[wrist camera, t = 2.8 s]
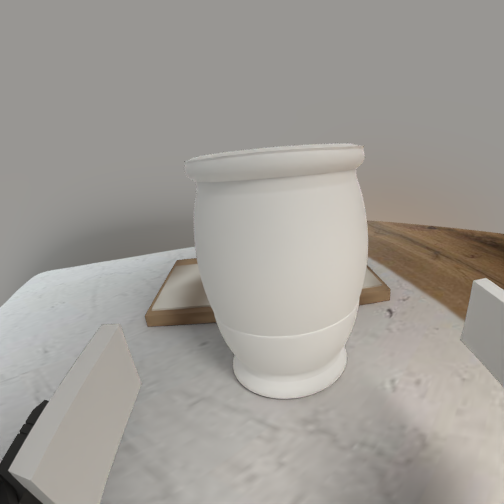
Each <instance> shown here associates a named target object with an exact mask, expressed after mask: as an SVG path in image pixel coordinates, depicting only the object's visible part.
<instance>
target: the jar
mask: <svg viewBox="0 0 504 504" xmlns="http://www.w3.org/2000/svg"><path fill="white" fill-rule="evenodd" d="M363 147H364V146H359V145H356V144H348V143H341V144H340V143H339V144H312V145H295V146H281V147H269V148H258V149H249V150H240V151H232V152H224V153H217V154H210V155H203V156H198V157H194V158H192V159H190V160H188V161H185V166H184V171H185V174H186V176H187V177H188V178H189V179H191V180H193V181H195V183H196V188H197V193H196V199H195V206H194V239H195V250H196V257H197V263H198V268H199V272H200V276H201V280H202V283H203V287H204V290H205V293H206V295H207V298H208V300H209V303H210V305H211V308H212V310H213V312H214V316H215V319H216V322H217V325H218V327H219V330H220V332H221V334H222V336H223V338H224V340H225V342H226V344H227V345H228V347H229V348H230V349H231V351H232V352H233V353H234V354H235V355H234V359H233V370H234V373H235V376H236V378H237V379H238V381H239V382H240V383H241V384H242V385H243V386H244V387H246V388H247V389H249V390H250V391H252V392H254V393H256V394H259V395H262V396H265V397H270V398H277V399H293V398H300V397H305V396H309V395H312V394H315V393H317V392H319V391H322V390H324V389H325V388H327V387H328V386H330V385H331V384H333V383H334V382H335V381H336V380H337V379H338V378H339V377H340V376H341V374H342V373H343V371H344V369H345V366H346V363H347V352H346V349H345V346H344V345H345V343H346V341H347V340H348V338H349V336H350V334H351V331H352V329H353V326H354V323H355V320H356V316H357V312H358V307H359V298H360V294H361V291H362V287H363V283H364V279H365V273H366V267H367V257H368V229H367V218H366V211H365V205H364V200H363V195H362V192H361V188H360V185H359V182H358V180H357V176H356V168H357V167H358V166H359V165H361V163H362V162H363V161H364V158H365V154H364V150H363Z"/></svg>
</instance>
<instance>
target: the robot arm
mask: <svg viewBox="0 0 504 504" xmlns="http://www.w3.org/2000/svg"><path fill="white" fill-rule="evenodd" d="M460 340H461V341H462V342H463V343H464V344H465V345H466V346H467V347H468V348H469V349H470V351H471V352H472V353H473V354H474V355H475V356H476V357H477V358H478V359H479V360H480V361H481V362H482V364H483V365H484V366H485V367H486V368H487V369H488V370H489V371H490V372H491V374H492V375H493V376H494V377H495V378H496V379H497V380H498V381H499V383H500V384H501V385H502V386H503V387H504V290H503V289H502V288H500V287H499V286H497V285H496V284H494V283H493V282H491V281H490V280H488V279H487V278H483V279H479V280H474V281H473V285H472V290H471V296H470V301H469V305H468V310H467V315H466V319H465V323H464V327H463V331H462V335H461V339H460ZM141 385H142V382H141V380H140V377H139V375H138V372H137V370H136V367H135V364H134V362H133V359H132V356H131V354H130V351H129V348H128V345H127V342H126V339H125V336H124V334H123V331H122V328H121V324H102V325H101V326H100V328H99V329H98V330H97V332H96V333H95V335H94V336H93V337H92V339H91V340H90V342H89V343H88V344H87V346H86V347H85V349H84V350H83V351H82V353H81V354H80V356H79V357H78V359H77V360H76V361H75V363H74V364H73V366H72V367H71V369H70V370H69V372H68V373H67V375H66V376H65V378H64V379H63V381H62V382H61V384H60V385H59V387H58V388H57V390H56V391H55V393H54V394H53V396H52V397H51V399H50V400H49V401H47V400H44V401H43V402H42V403H41V404H40V405H38V406H37V407H36V408H35V409H34V410H33V411H32V412H31V414H30V415H29V417H28V419H27V420H26V424H24V425H23V426H22V428H21V430H20V434H18V435H17V436H16V438H15V439H14V441H13V443H12V444H11V446H10V448H9V449H8V451H7V453H6V455H5V456H4V458H3V460H2V462H1V463H0V504H100V501H101V498H102V494H103V491H104V488H105V485H106V482H107V479H108V476H109V473H110V470H111V467H112V464H113V461H114V458H115V455H116V453H117V450H118V447H119V444H120V441H121V438H122V436H123V433H124V430H125V427H126V425H127V422H128V419H129V417H130V414H131V411H132V408H133V406H134V403H135V401H136V398H137V395H138V393H139V390H140V388H141Z"/></svg>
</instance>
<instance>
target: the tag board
mask: <svg viewBox="0 0 504 504" xmlns="http://www.w3.org/2000/svg"><path fill="white" fill-rule="evenodd" d="M387 300H390V288H389V287H388V286H387V285H386V284H385V283H384V282H383V281H382V280H381V279H380V278H379V277H378V276H377V275H376V274H375V273H374V272H373V271H372V270H371V269H370V268H369V267H368V266H367V267H366V273H365V279H364V283H363V287H362V291H361V294H360V298H359V305H363V304H369V303H375V302H381V301H387ZM145 319H146V322H147V326H148V327H149V326H168V325H185V324H199V323H212V322H216V319H215V316H214V312H213V310H212V308H211V305H210V303H209V300H208V298H207V295H206V293H205V290H204V287H203V283H202V280H201V276H200V272H199V268H198V263H197V258H194V259H184V260H177V261H176V263H175V264H174V266H173V268H172V269H171V271H170V273H169V275H168V276H167V278H166V280H165V281H164V283H163V285H162V287H161V288H160V290H159V292H158V294H157V295H156V297H155V299H154V301H153V302H152V304H151V306H150V308H149V309H148V311H147V313H146V315H145Z"/></svg>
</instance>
